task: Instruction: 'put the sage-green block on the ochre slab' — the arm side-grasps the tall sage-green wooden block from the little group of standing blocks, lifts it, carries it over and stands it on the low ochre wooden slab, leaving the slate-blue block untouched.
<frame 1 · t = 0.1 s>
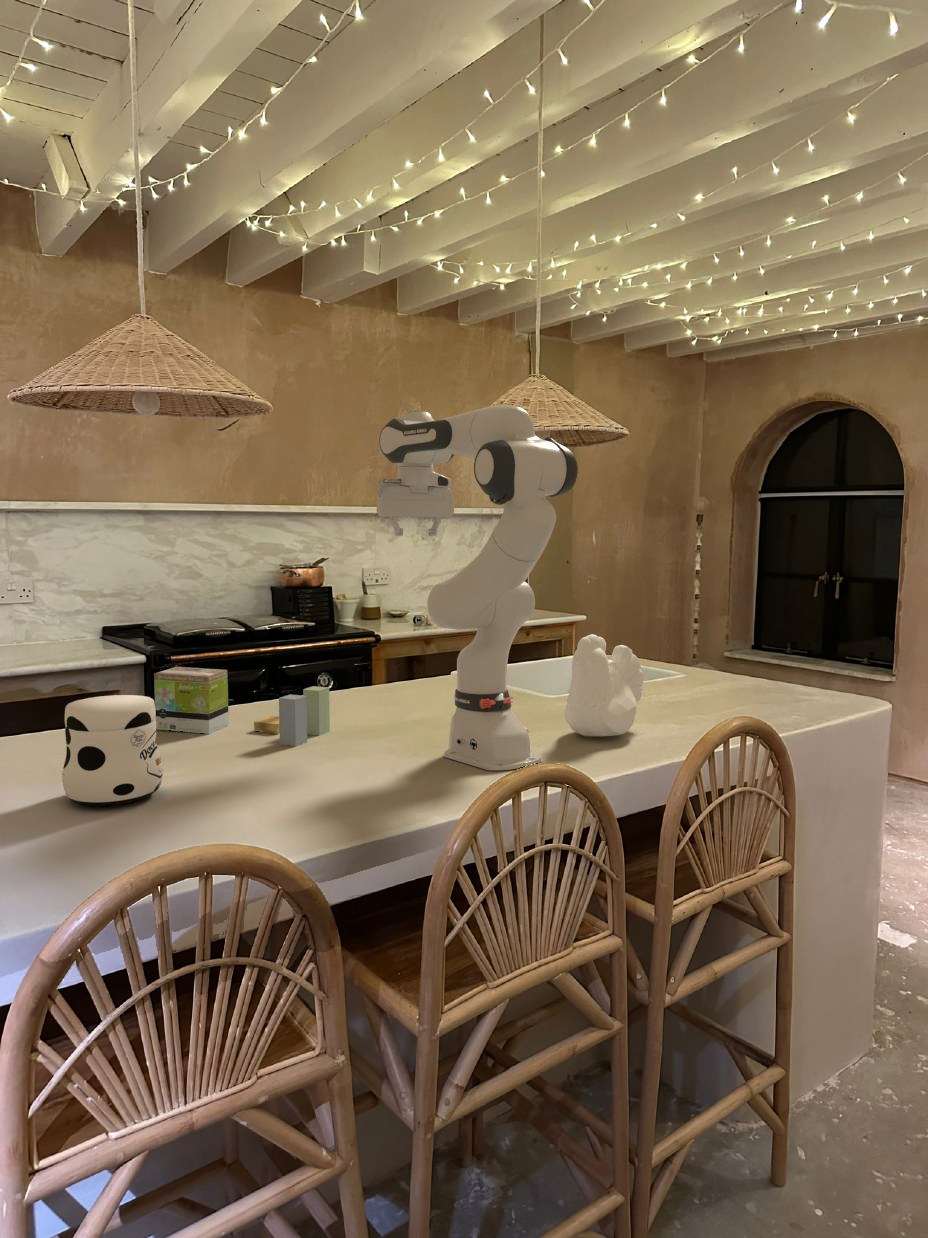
hand: (415, 535, 213), 48 cm above the counter, tool pointing down, fingers open, 8 cm apart
decorative rooster: (610, 734, 209), on the counter
spotted treat jar: (114, 798, 160), on the counter
green block: (316, 732, 210), on the counter
tea box: (192, 729, 214), on the counter
ochre slab: (274, 729, 213), on the counter
slate block: (293, 743, 200), on the counter
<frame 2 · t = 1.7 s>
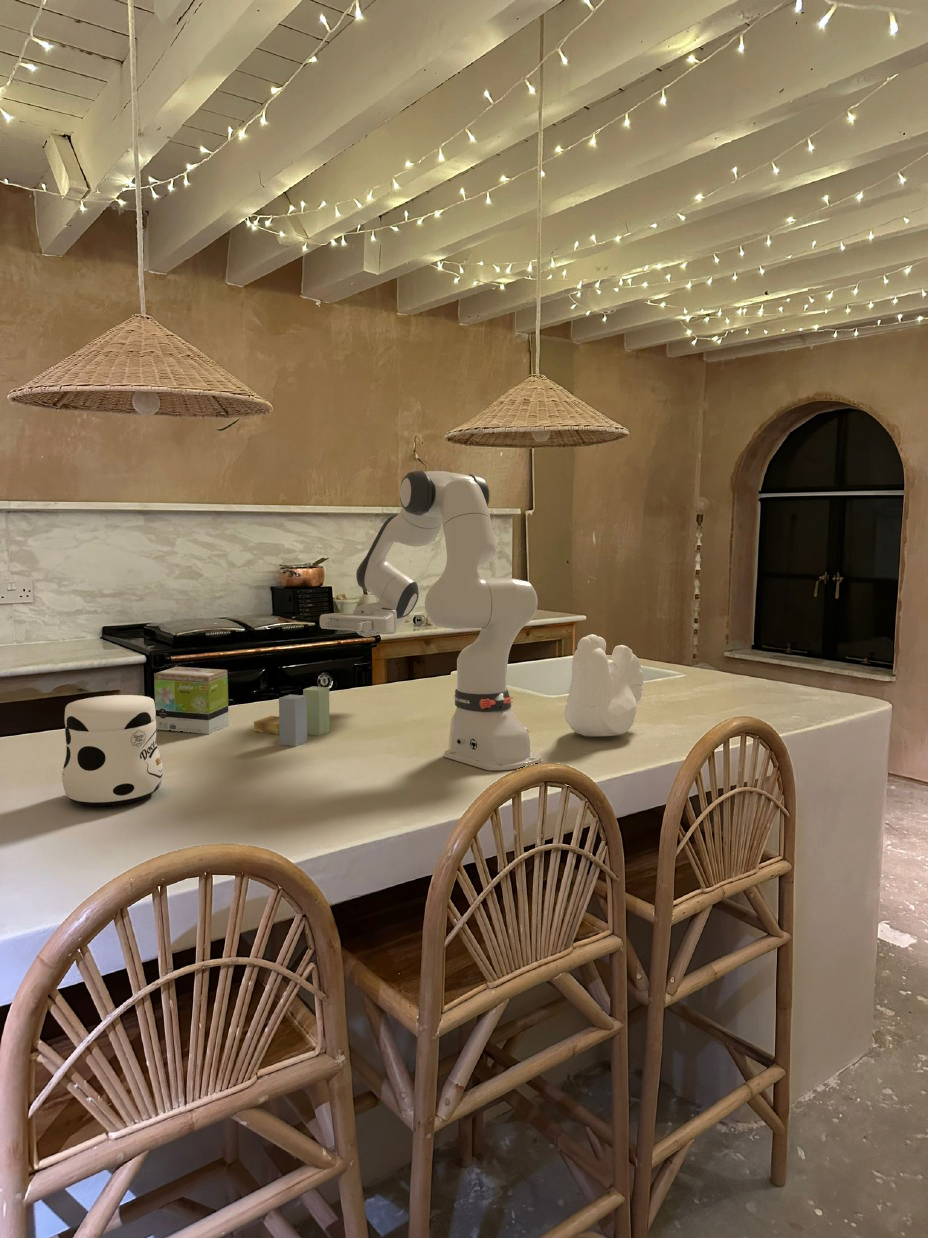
hand: (341, 625, 218), 25 cm above the counter, tool horizontal, fingers open, 8 cm apart
nothing on the counter moved.
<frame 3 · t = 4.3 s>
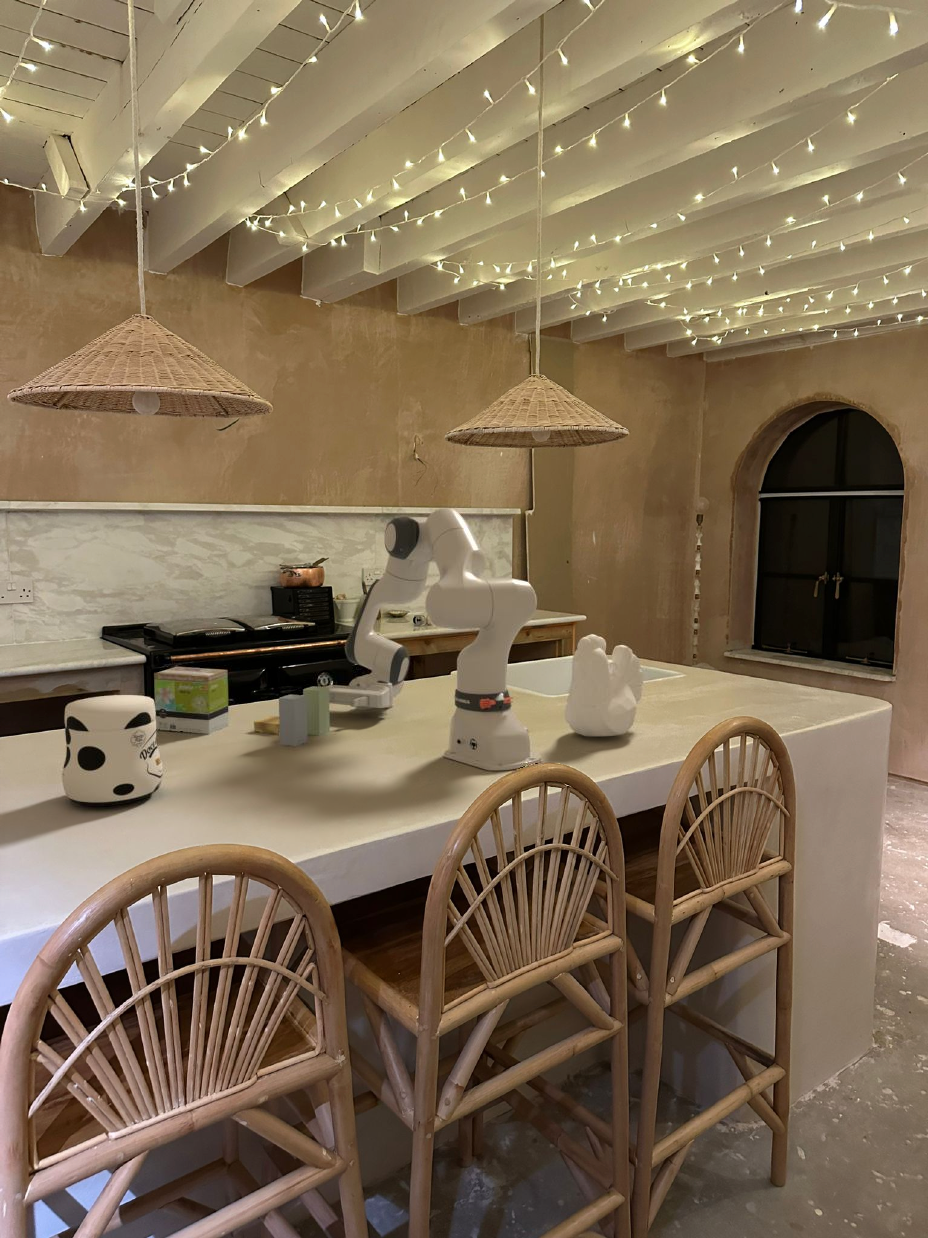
hand: (336, 702, 218), 6 cm above the counter, tool horizontal, fingers open, 8 cm apart
nothing on the counter moved.
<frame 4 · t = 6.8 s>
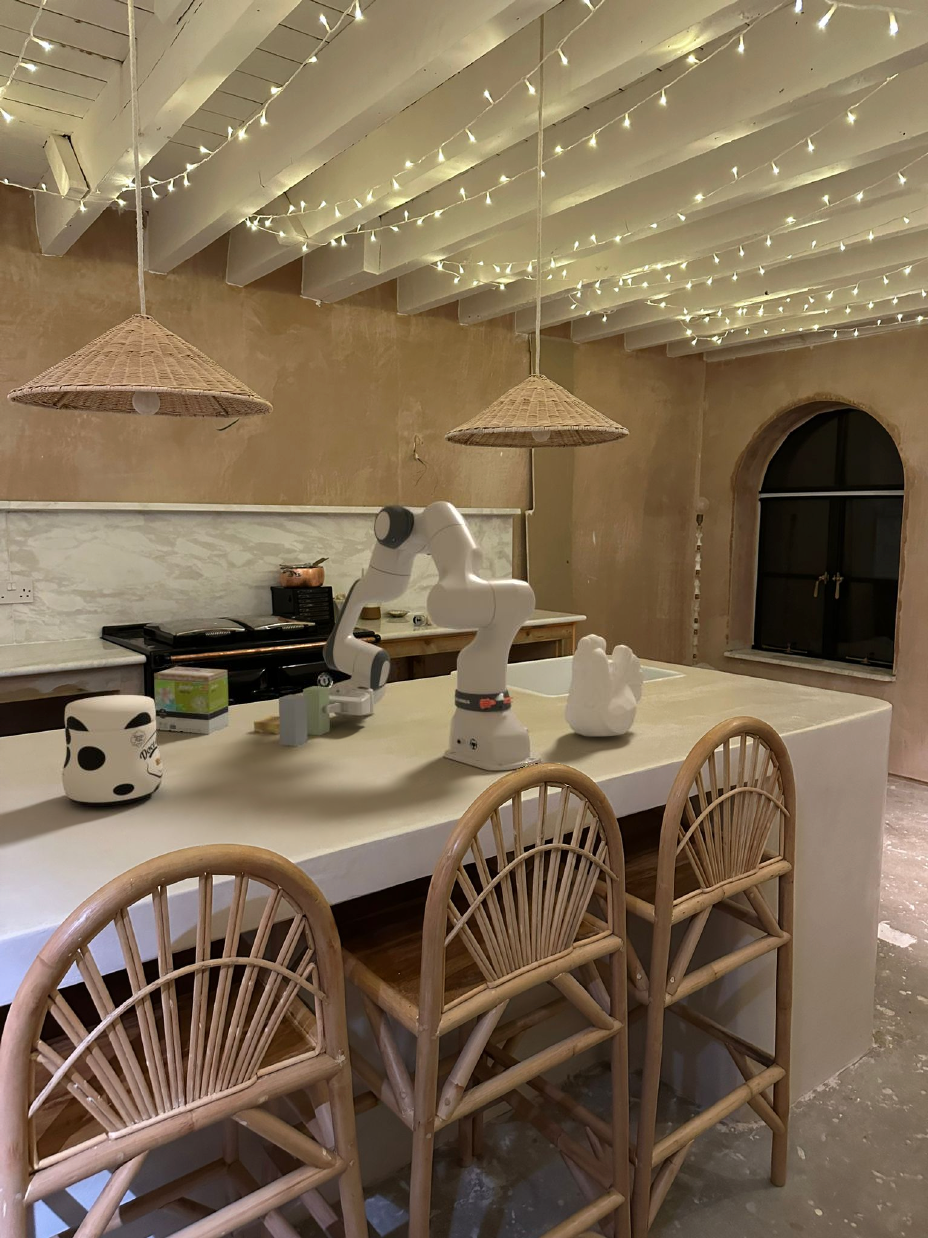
hand: (314, 709, 209), 6 cm above the counter, tool horizontal, fingers closed on green block, 4 cm apart
green block: (316, 732, 210), on the counter, touching gripper
everything else where it was.
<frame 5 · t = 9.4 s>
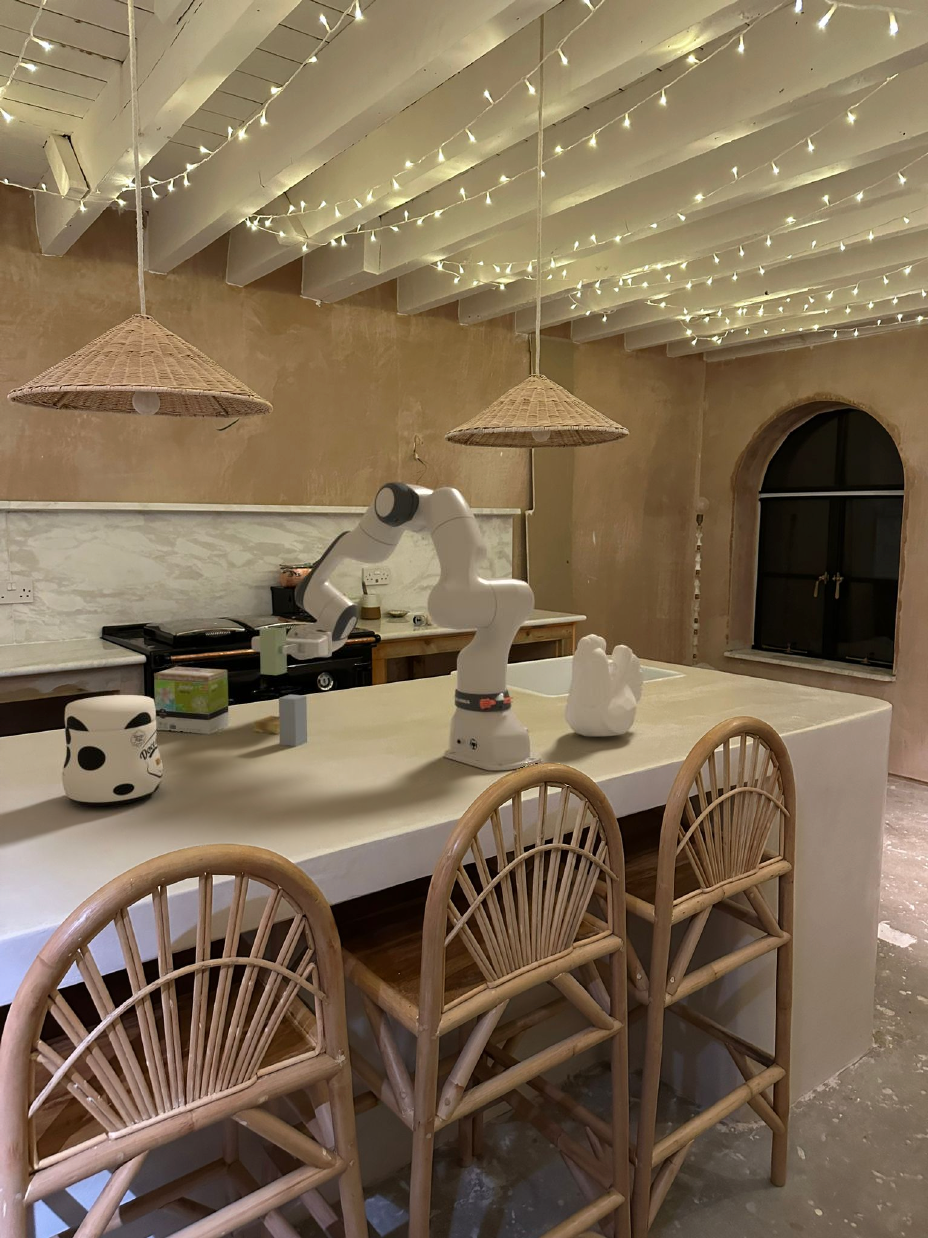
hand: (271, 649, 210), 20 cm above the counter, tool horizontal, fingers closed on green block, 4 cm apart
green block: (273, 673, 211), point 14 cm above the counter, touching gripper
everything else where it was.
when the fingers open (9 cm above the counter, at t = 12.3 s): green block stays where it is, resting on ochre slab.
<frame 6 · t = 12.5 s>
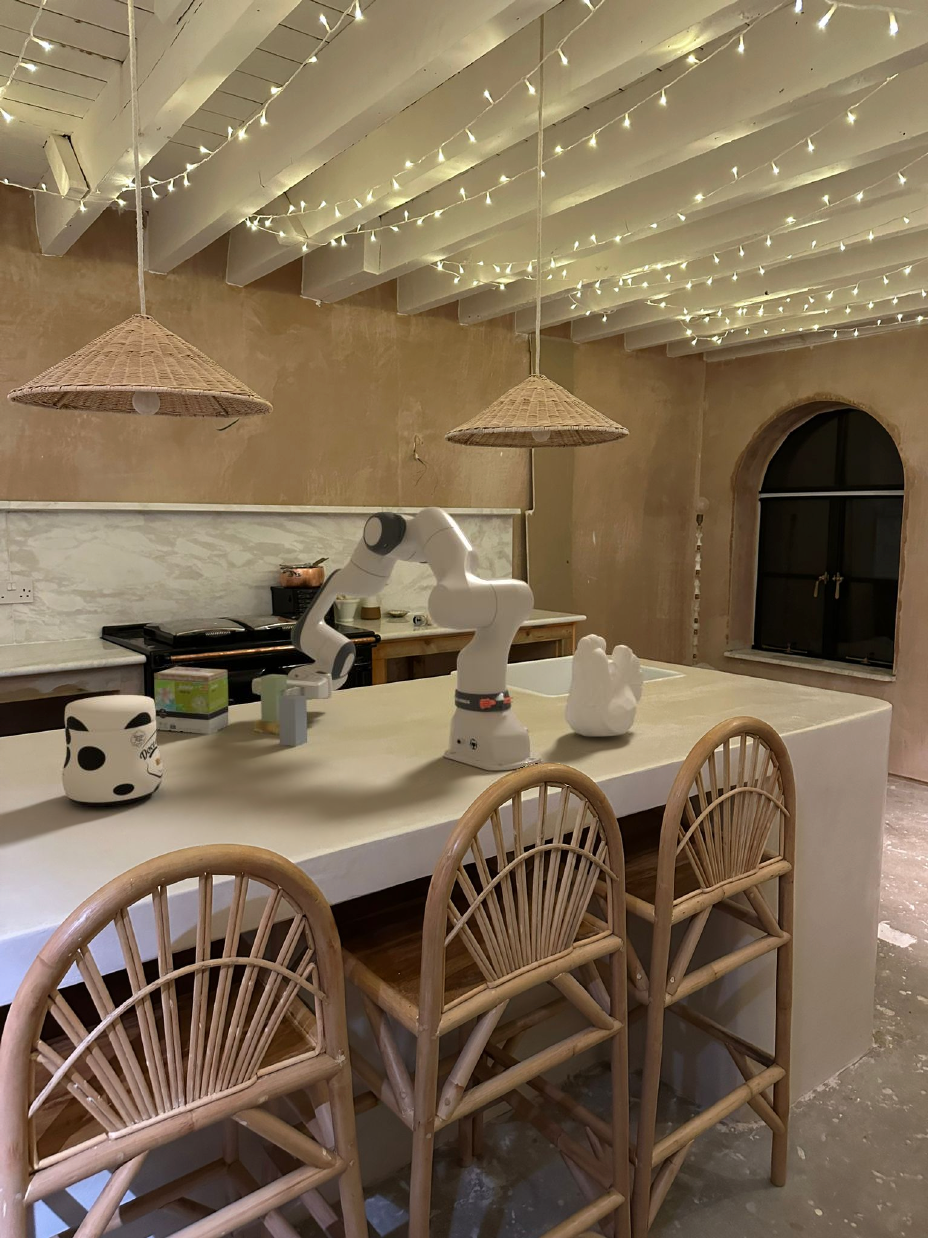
hand: (271, 692, 211), 9 cm above the counter, tool horizontal, fingers open, 6 cm apart
green block: (274, 719, 212), point 2 cm above the counter, touching ochre slab
everything else where it was.
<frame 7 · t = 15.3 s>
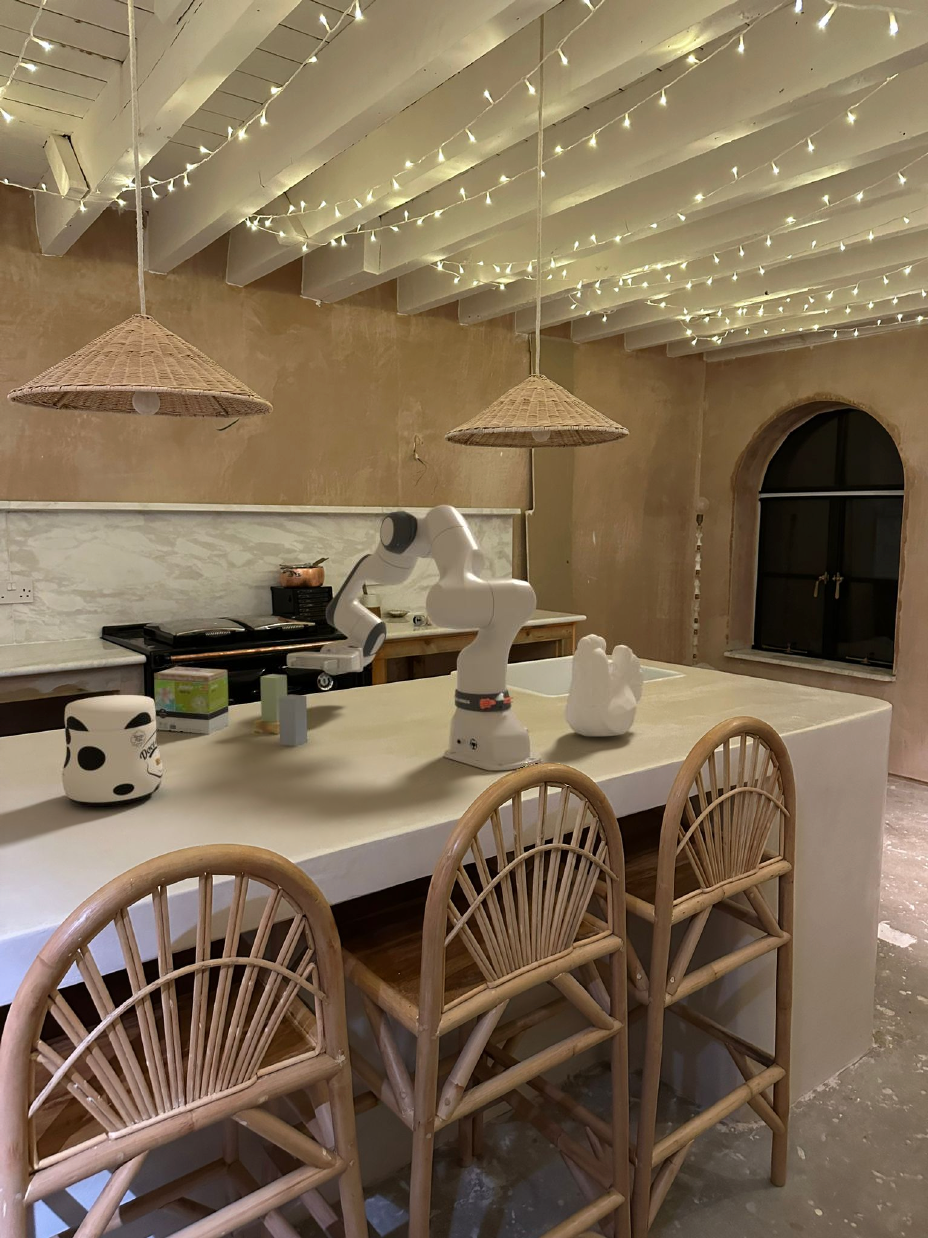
hand: (306, 664, 221), 15 cm above the counter, tool horizontal, fingers open, 8 cm apart
nothing on the counter moved.
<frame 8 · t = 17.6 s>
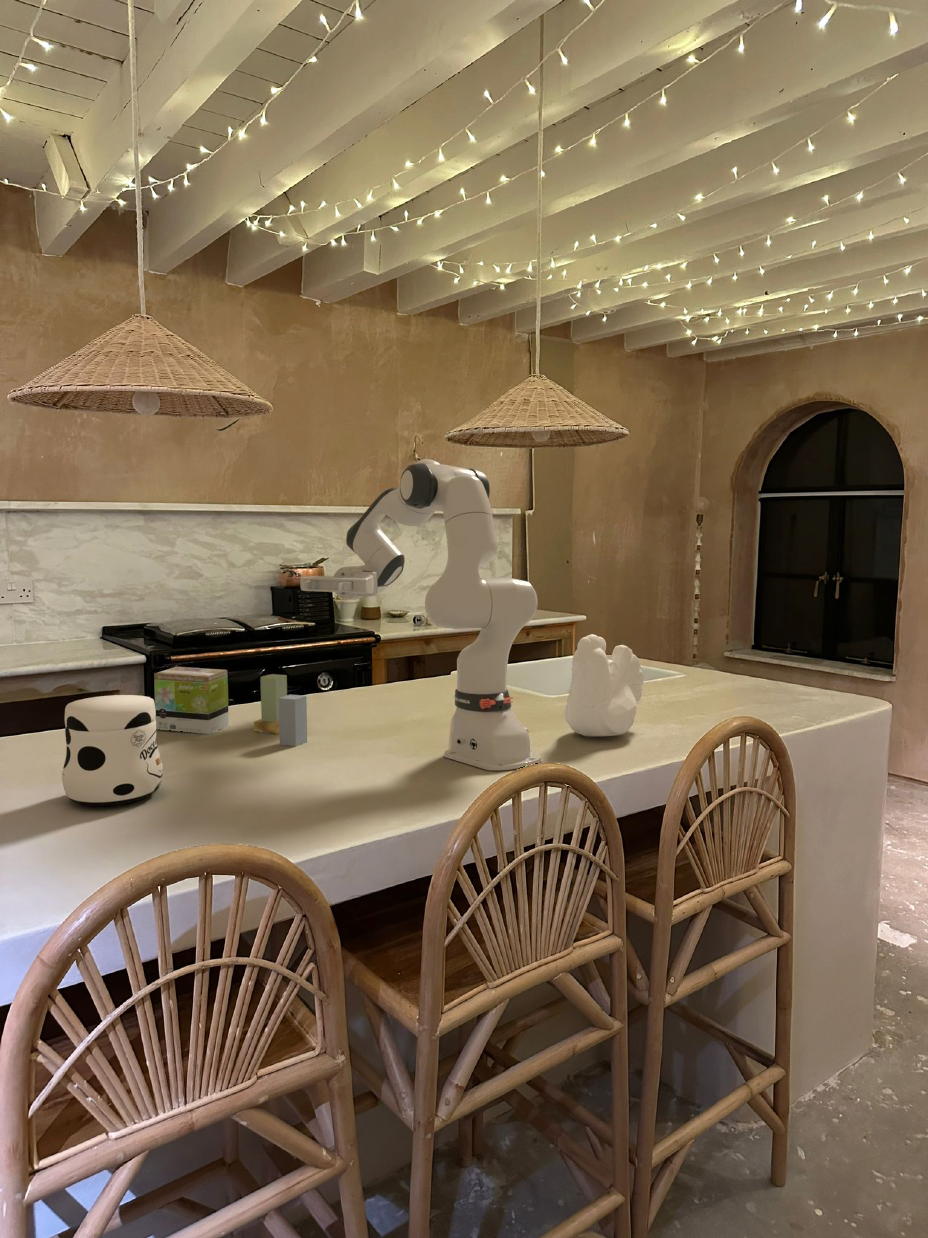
hand: (321, 586, 219), 35 cm above the counter, tool horizontal, fingers open, 8 cm apart
nothing on the counter moved.
at the end: green block 0.1 cm off-centre on the ochre slab, point 2.5 cm above the ochre slab's base; green block tilted 0°; slate block moved 0.0 cm from its start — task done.
